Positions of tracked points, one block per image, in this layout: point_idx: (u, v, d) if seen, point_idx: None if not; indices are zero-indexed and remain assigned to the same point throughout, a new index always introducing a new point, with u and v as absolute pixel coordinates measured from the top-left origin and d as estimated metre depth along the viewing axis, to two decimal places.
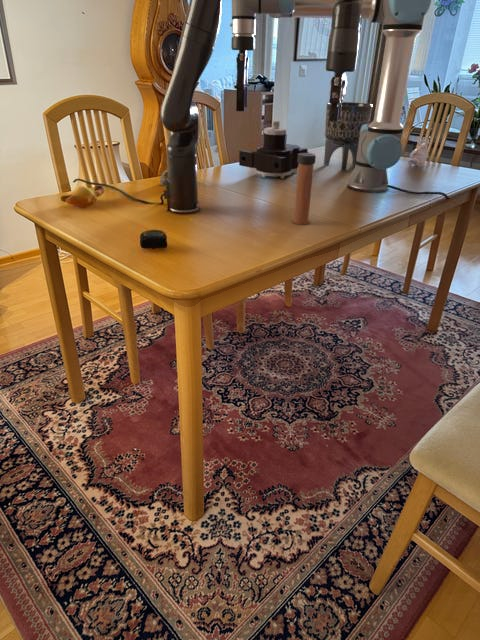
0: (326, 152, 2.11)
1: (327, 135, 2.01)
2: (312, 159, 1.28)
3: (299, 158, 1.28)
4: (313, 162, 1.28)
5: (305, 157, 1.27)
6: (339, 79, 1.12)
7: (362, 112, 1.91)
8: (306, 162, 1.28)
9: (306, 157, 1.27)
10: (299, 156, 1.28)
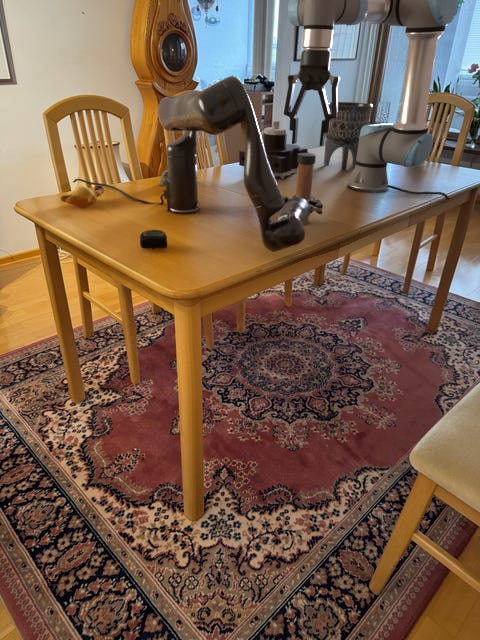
0: (326, 152, 2.11)
1: (327, 135, 2.01)
2: (312, 159, 1.28)
3: (299, 158, 1.28)
4: (313, 162, 1.28)
5: (305, 157, 1.27)
6: None
7: (362, 112, 1.91)
8: (306, 162, 1.28)
9: (306, 157, 1.27)
10: (299, 156, 1.28)
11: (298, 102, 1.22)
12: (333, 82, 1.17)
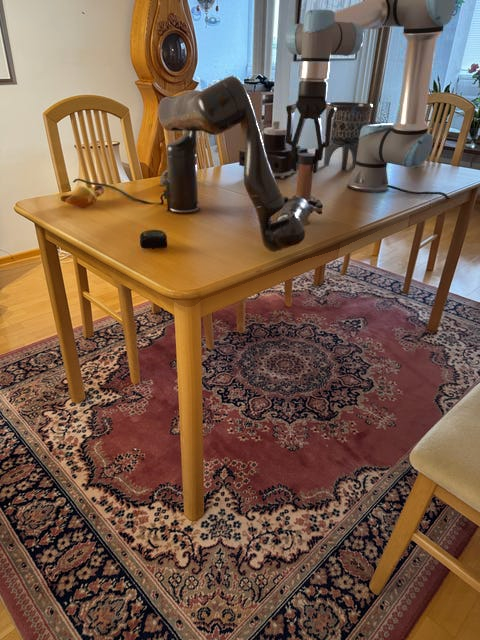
0: (326, 152, 2.11)
1: None
2: (312, 159, 1.28)
3: (299, 158, 1.28)
4: (313, 162, 1.28)
5: (305, 157, 1.27)
6: None
7: (362, 112, 1.91)
8: (306, 162, 1.28)
9: (306, 157, 1.27)
10: (299, 156, 1.28)
11: (298, 131, 1.26)
12: (329, 113, 1.21)
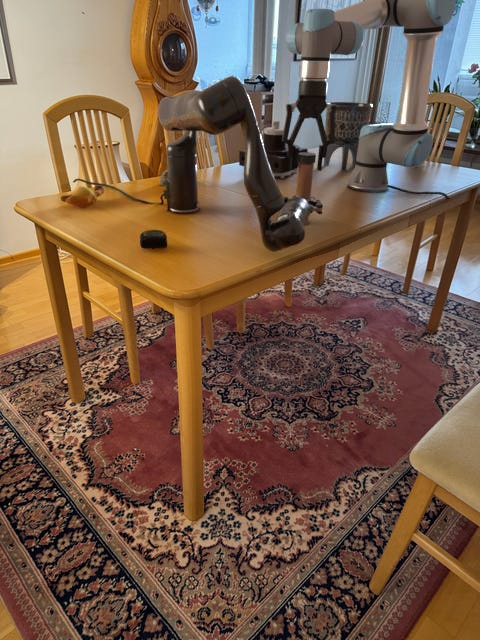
0: None
1: (327, 135, 2.01)
2: None
3: (309, 158, 1.27)
4: None
5: (314, 156, 1.28)
6: None
7: (362, 112, 1.91)
8: (314, 161, 1.29)
9: (315, 156, 1.28)
10: (309, 156, 1.27)
11: (297, 130, 1.25)
12: (331, 110, 1.22)
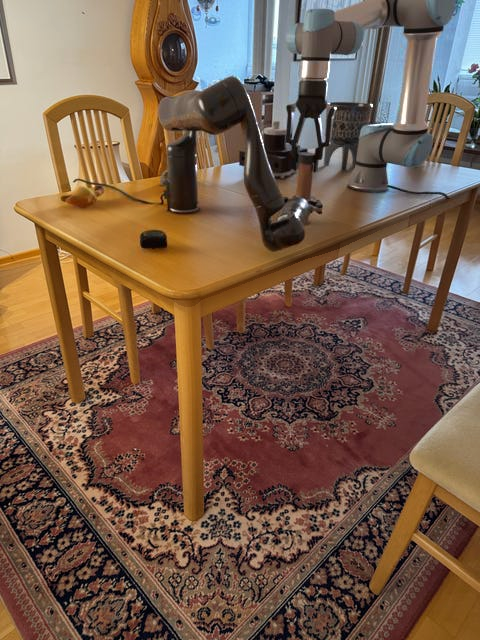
0: (326, 152, 2.11)
1: None
2: None
3: (309, 158, 1.27)
4: None
5: (314, 156, 1.28)
6: None
7: (362, 112, 1.91)
8: None
9: None
10: (309, 156, 1.27)
11: (298, 130, 1.26)
12: (329, 112, 1.21)
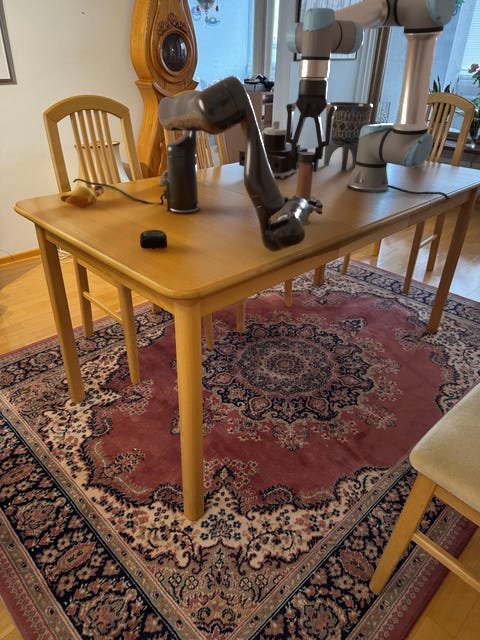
0: (326, 152, 2.11)
1: None
2: None
3: None
4: None
5: None
6: None
7: (362, 112, 1.91)
8: None
9: None
10: None
11: (298, 129, 1.25)
12: (329, 111, 1.21)
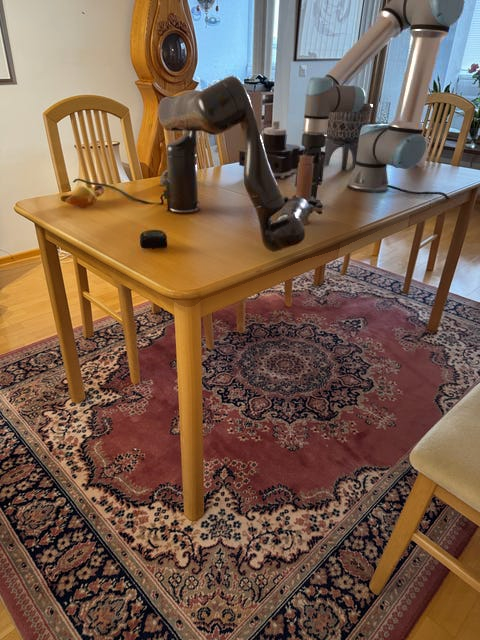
0: (326, 152, 2.11)
1: (327, 135, 2.01)
2: None
3: None
4: None
5: None
6: None
7: (362, 112, 1.91)
8: None
9: None
10: None
11: None
12: (323, 156, 1.49)
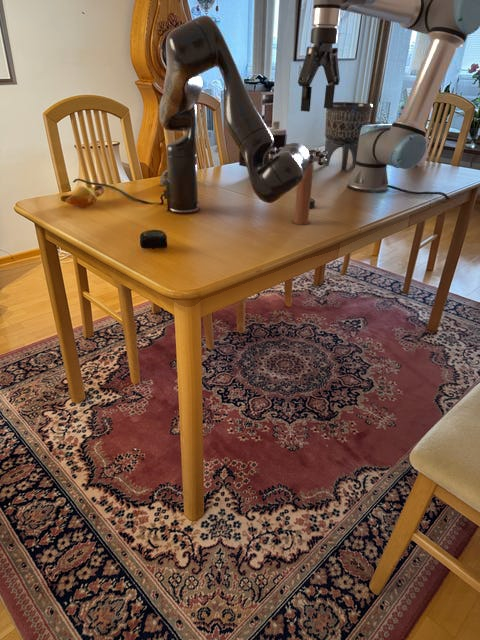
0: None
1: (327, 135, 2.01)
2: None
3: None
4: None
5: None
6: None
7: (362, 112, 1.91)
8: None
9: None
10: None
11: (315, 73, 1.30)
12: (335, 53, 1.35)
